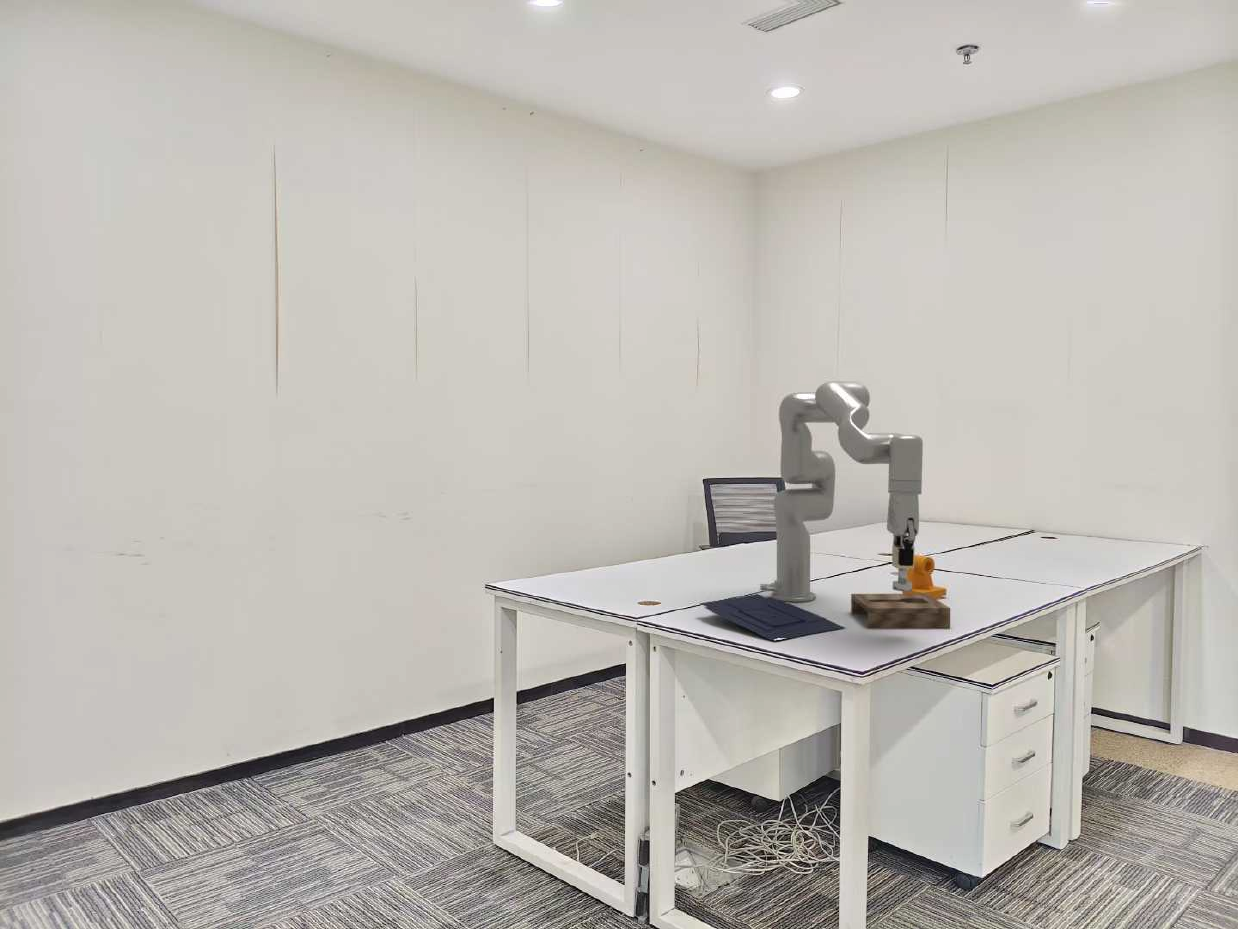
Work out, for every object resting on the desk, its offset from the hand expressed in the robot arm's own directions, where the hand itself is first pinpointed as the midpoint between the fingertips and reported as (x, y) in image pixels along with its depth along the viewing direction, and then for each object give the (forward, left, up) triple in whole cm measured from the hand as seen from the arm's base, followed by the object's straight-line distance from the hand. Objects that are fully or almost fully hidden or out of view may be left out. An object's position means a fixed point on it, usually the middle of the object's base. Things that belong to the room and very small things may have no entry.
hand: (902, 563), depth 213 cm
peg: (0, 0, -6) cm, 6 cm away
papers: (-30, +13, -18) cm, 37 cm away
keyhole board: (+4, +17, -18) cm, 25 cm away
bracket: (+20, +45, -18) cm, 52 cm away
